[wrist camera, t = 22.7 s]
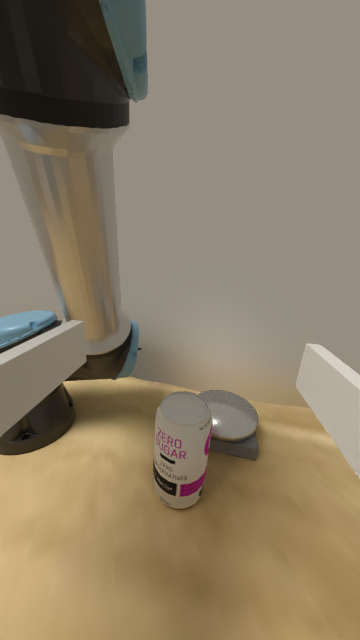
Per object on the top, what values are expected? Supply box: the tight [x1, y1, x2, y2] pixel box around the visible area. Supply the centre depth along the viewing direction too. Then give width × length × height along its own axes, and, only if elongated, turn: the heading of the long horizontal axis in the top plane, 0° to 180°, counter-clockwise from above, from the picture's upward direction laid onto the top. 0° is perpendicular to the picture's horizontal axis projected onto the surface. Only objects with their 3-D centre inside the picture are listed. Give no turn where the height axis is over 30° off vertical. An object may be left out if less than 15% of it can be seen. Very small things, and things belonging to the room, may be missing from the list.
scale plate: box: [198, 390, 258, 441], centre depth 47 cm, size 14×14×4 cm
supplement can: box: [153, 391, 213, 509], centre depth 33 cm, size 8×8×15 cm
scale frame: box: [209, 432, 258, 460], centre depth 47 cm, size 13×13×3 cm
